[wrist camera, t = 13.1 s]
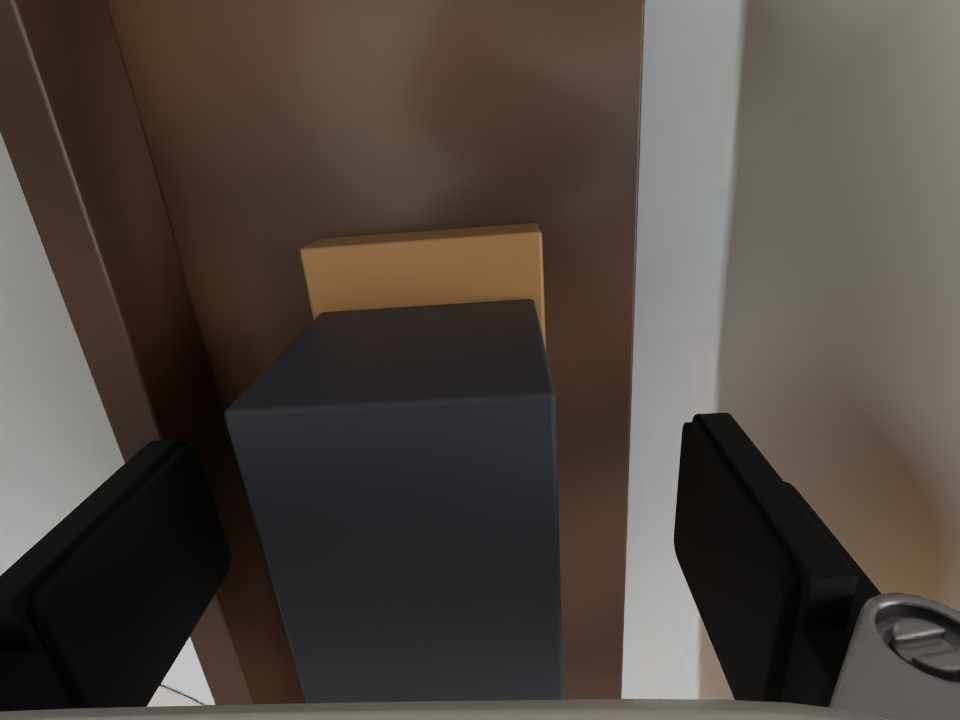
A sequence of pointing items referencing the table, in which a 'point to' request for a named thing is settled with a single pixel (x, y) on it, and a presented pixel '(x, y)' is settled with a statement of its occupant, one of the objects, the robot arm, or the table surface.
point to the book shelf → (331, 230)
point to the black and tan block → (413, 471)
